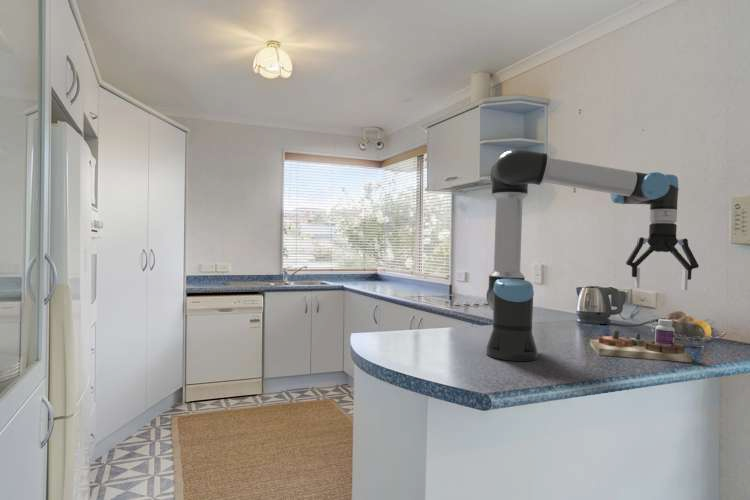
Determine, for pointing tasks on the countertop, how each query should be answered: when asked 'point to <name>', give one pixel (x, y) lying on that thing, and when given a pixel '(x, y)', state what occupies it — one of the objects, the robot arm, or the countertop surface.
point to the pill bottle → (664, 333)
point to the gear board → (638, 348)
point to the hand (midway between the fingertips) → (660, 288)
